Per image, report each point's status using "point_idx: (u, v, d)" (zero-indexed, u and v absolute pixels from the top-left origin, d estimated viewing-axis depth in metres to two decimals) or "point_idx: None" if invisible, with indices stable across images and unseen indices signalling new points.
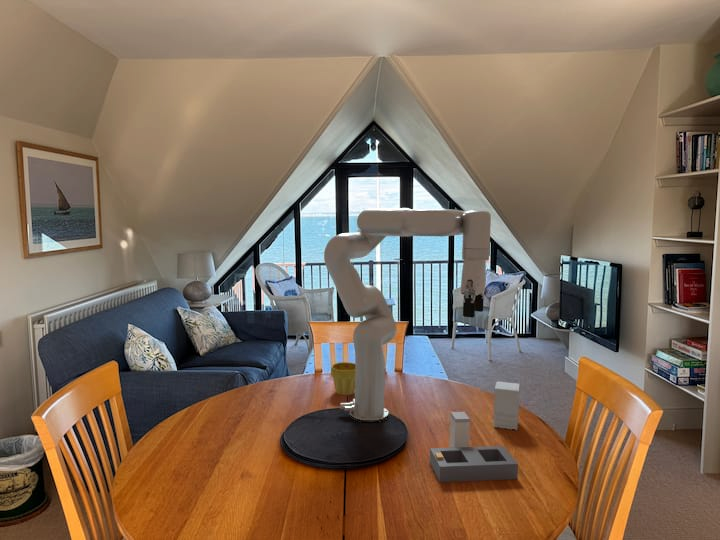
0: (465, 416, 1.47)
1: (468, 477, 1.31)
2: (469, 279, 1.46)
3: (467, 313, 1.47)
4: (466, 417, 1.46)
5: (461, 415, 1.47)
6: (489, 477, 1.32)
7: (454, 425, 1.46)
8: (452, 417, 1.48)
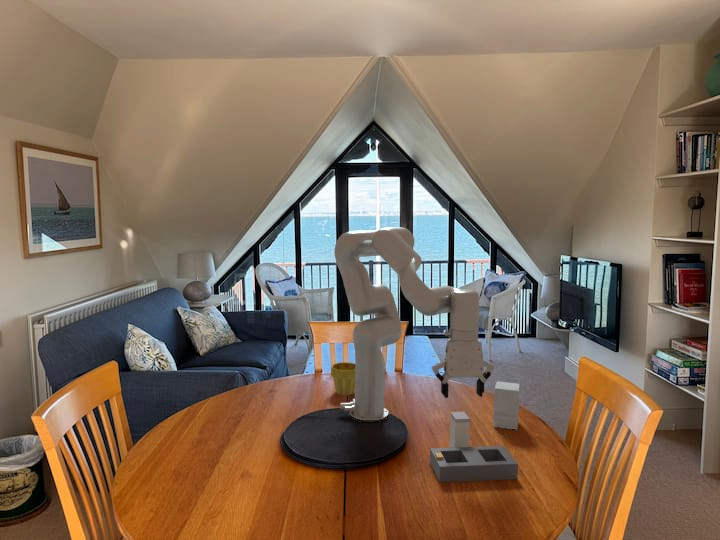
0: (465, 416, 1.47)
1: (468, 477, 1.31)
2: None
3: None
4: (466, 417, 1.46)
5: (461, 415, 1.47)
6: (489, 477, 1.32)
7: (454, 425, 1.46)
8: (452, 417, 1.48)
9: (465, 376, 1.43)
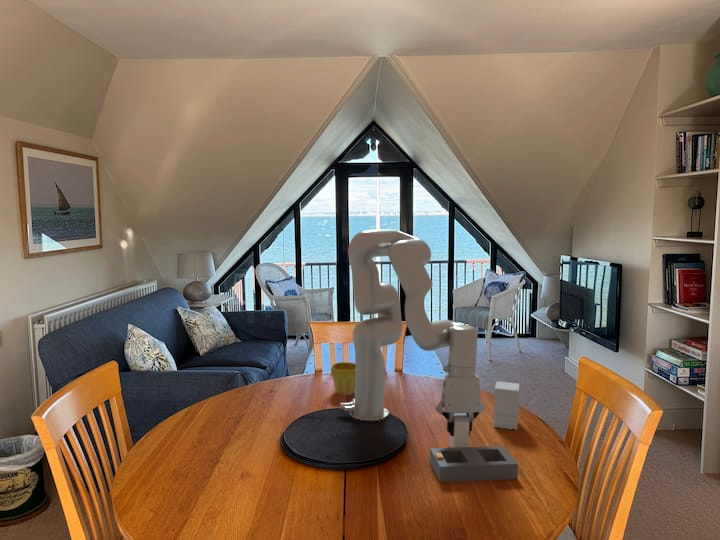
0: (465, 415, 1.47)
1: (468, 477, 1.31)
2: None
3: None
4: (466, 417, 1.46)
5: (461, 415, 1.47)
6: (489, 477, 1.32)
7: (454, 424, 1.46)
8: None
9: (462, 411, 1.44)
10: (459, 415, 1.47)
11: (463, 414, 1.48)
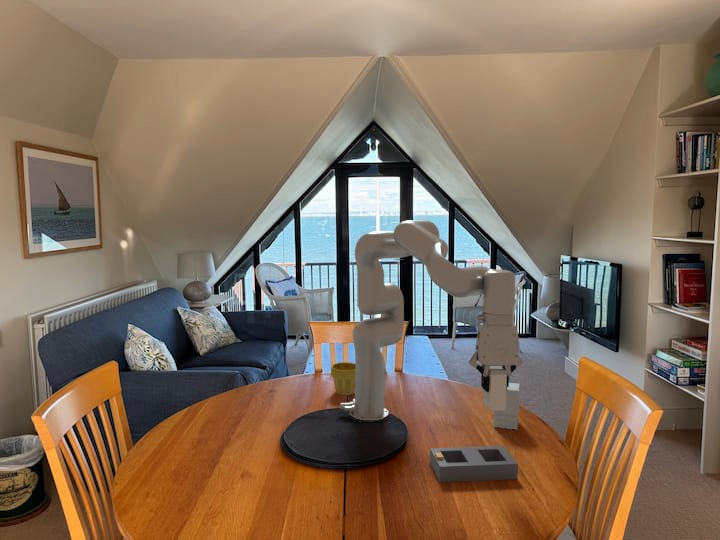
0: (501, 369, 1.34)
1: (468, 477, 1.31)
2: None
3: None
4: (502, 369, 1.33)
5: (497, 368, 1.34)
6: (489, 477, 1.32)
7: None
8: None
9: (499, 364, 1.31)
10: (495, 368, 1.34)
11: (499, 368, 1.35)
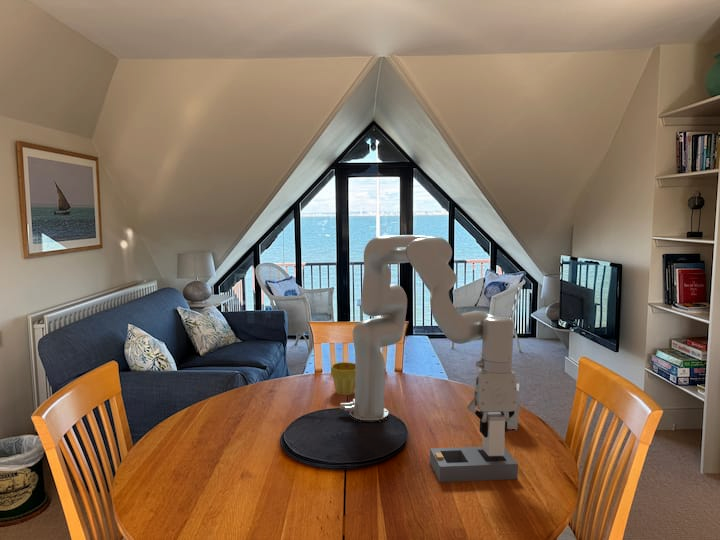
0: (499, 414, 1.35)
1: (468, 477, 1.31)
2: None
3: None
4: (501, 415, 1.34)
5: (495, 414, 1.35)
6: (489, 477, 1.32)
7: (488, 424, 1.34)
8: None
9: (497, 410, 1.32)
10: (493, 414, 1.35)
11: (497, 413, 1.36)
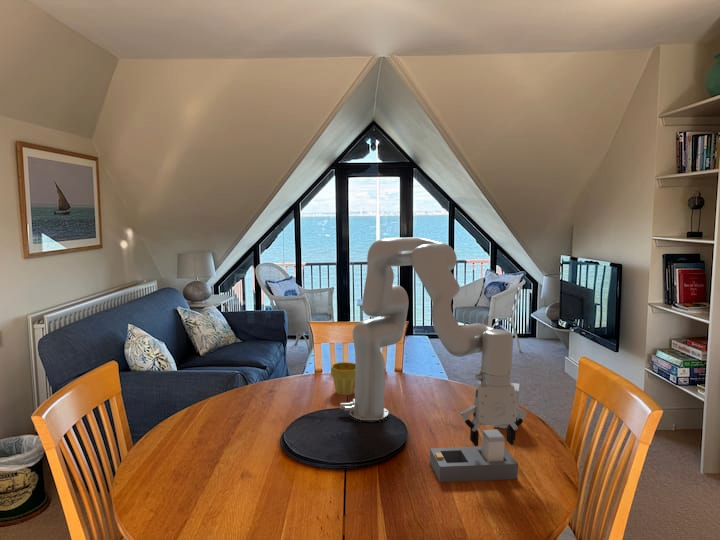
0: (499, 435, 1.35)
1: (468, 477, 1.31)
2: None
3: None
4: (500, 436, 1.34)
5: (495, 434, 1.35)
6: (489, 477, 1.32)
7: (487, 445, 1.34)
8: (485, 436, 1.36)
9: (496, 423, 1.33)
10: (493, 434, 1.35)
11: (497, 433, 1.36)
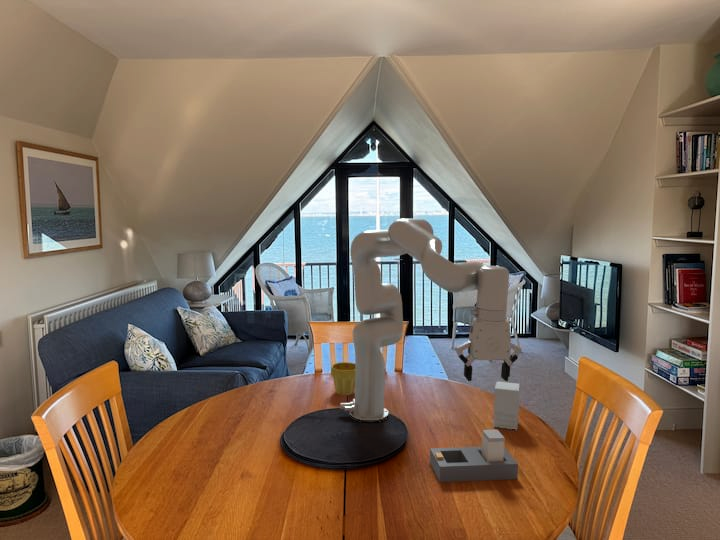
0: (499, 435, 1.35)
1: (468, 477, 1.31)
2: None
3: None
4: (500, 436, 1.34)
5: (495, 434, 1.35)
6: (489, 477, 1.32)
7: (487, 445, 1.34)
8: (484, 436, 1.36)
9: (491, 358, 1.34)
10: (492, 434, 1.35)
11: (497, 433, 1.36)
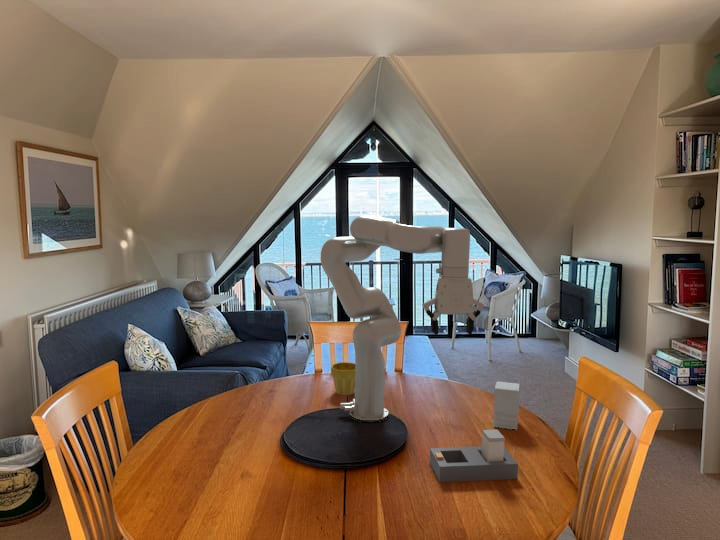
0: (499, 435, 1.35)
1: (468, 477, 1.31)
2: None
3: None
4: (500, 436, 1.34)
5: (495, 434, 1.35)
6: (489, 477, 1.32)
7: (487, 445, 1.34)
8: (484, 436, 1.36)
9: (455, 313, 1.45)
10: (492, 434, 1.35)
11: (497, 433, 1.36)
